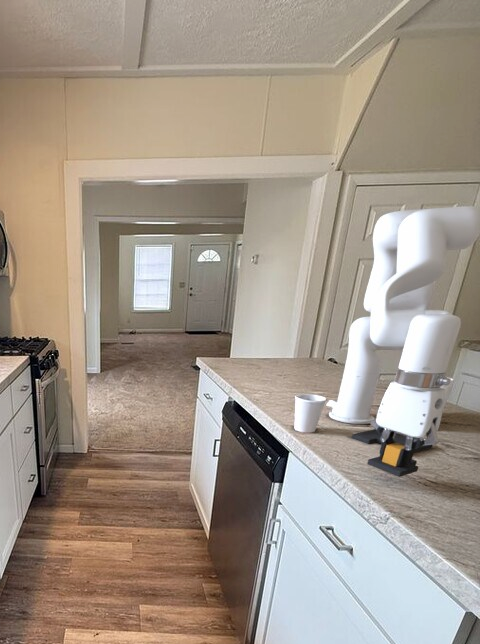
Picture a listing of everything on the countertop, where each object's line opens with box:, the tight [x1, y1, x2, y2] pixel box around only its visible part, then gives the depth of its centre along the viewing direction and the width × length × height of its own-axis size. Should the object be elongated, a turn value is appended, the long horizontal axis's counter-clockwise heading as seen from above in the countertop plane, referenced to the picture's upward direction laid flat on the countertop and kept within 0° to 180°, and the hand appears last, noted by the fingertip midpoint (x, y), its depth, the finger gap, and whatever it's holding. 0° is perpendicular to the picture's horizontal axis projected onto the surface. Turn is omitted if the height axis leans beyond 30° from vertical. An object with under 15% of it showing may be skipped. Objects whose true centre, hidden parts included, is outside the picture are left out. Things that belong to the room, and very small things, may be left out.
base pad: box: [351, 428, 434, 453], centre depth 110 cm, size 14×12×1 cm
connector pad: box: [366, 443, 419, 478], centre depth 88 cm, size 7×9×5 cm
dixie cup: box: [293, 393, 328, 434], centre depth 119 cm, size 8×8×10 cm
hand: (393, 461), depth 87 cm, fingers closed on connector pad, 3 cm apart
